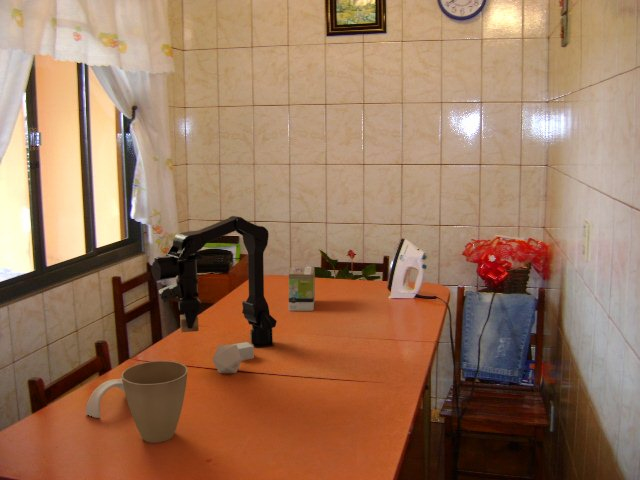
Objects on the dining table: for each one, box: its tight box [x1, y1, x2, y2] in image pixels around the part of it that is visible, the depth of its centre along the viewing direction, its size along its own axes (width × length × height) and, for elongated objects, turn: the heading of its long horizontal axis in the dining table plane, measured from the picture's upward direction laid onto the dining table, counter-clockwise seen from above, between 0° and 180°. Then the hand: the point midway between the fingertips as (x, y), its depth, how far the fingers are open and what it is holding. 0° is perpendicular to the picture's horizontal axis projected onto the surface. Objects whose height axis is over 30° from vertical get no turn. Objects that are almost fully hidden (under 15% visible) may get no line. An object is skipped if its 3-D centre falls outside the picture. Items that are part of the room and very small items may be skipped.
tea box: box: [288, 266, 316, 312], centre depth 274 cm, size 15×10×15 cm, turn 179°
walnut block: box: [179, 314, 200, 333], centre depth 210 cm, size 5×5×4 cm
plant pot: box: [121, 360, 188, 444], centre depth 162 cm, size 15×15×16 cm
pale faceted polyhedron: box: [212, 344, 243, 374], centre depth 204 cm, size 8×9×10 cm
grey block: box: [232, 341, 255, 361], centre depth 217 cm, size 5×5×4 cm
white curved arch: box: [85, 377, 125, 419], centre depth 184 cm, size 24×12×7 cm, turn 150°
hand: (189, 325), depth 210 cm, fingers closed on walnut block, 5 cm apart
